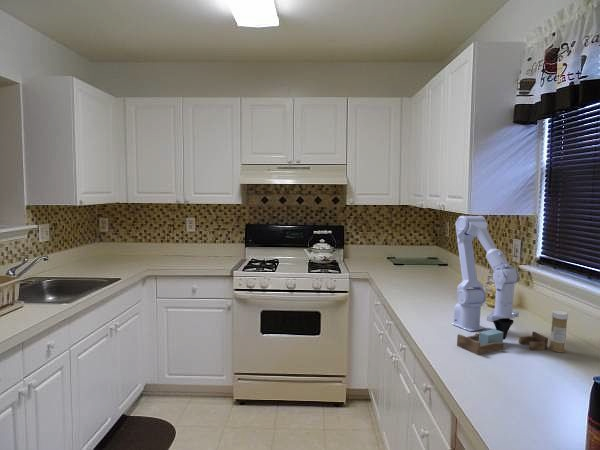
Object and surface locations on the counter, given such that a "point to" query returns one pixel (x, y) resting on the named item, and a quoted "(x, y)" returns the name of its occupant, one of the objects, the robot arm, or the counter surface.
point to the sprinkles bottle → (558, 330)
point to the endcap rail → (477, 344)
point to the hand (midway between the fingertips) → (501, 338)
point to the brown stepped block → (534, 341)
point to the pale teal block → (490, 336)
